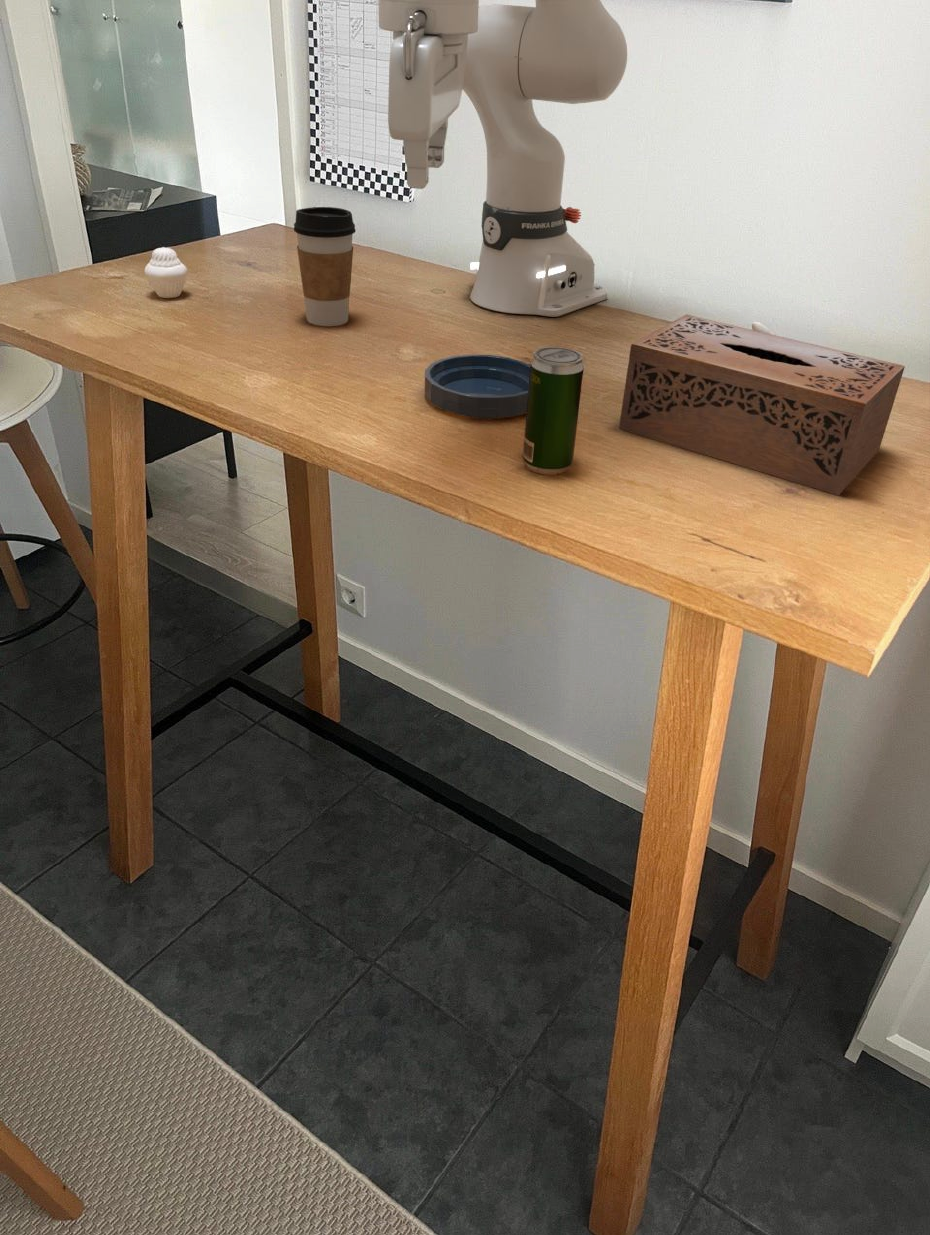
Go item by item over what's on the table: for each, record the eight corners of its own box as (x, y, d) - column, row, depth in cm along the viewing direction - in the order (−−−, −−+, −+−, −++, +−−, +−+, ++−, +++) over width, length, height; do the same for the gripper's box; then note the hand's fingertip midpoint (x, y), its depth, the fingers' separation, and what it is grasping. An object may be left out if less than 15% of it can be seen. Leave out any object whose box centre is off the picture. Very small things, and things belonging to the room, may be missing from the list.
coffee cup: (286, 323, 139) (280, 211, 131) (316, 307, 146) (312, 200, 137) (339, 333, 137) (336, 219, 128) (367, 316, 143) (366, 207, 135)
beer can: (542, 480, 102) (553, 368, 95) (511, 460, 105) (520, 350, 99) (582, 469, 104) (596, 359, 98) (551, 450, 108) (562, 343, 101)
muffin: (198, 294, 148) (193, 246, 144) (168, 303, 144) (162, 254, 140) (169, 286, 151) (163, 239, 147) (138, 295, 147) (131, 246, 143)
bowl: (489, 369, 128) (491, 347, 126) (565, 405, 119) (568, 381, 117) (401, 391, 120) (401, 368, 118) (474, 431, 111) (476, 406, 109)
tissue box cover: (878, 451, 112) (905, 365, 106) (838, 495, 102) (865, 404, 96) (672, 393, 124) (686, 314, 118) (618, 428, 114) (631, 343, 108)
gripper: (446, 18, 78) (442, 203, 86) (477, 2, 94) (471, 158, 102) (368, 14, 78) (371, 198, 86) (413, -2, 95) (412, 154, 103)
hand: (426, 176), depth 94 cm, fingers open, 8 cm apart
